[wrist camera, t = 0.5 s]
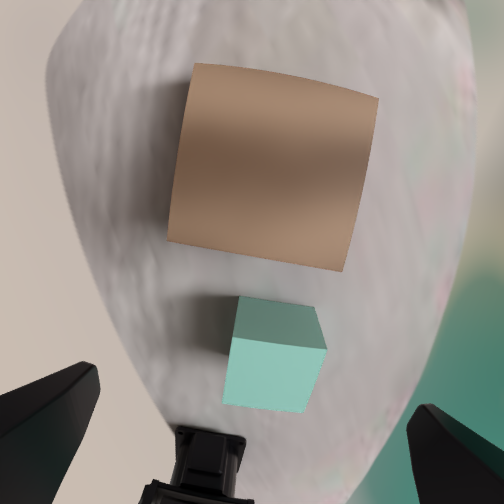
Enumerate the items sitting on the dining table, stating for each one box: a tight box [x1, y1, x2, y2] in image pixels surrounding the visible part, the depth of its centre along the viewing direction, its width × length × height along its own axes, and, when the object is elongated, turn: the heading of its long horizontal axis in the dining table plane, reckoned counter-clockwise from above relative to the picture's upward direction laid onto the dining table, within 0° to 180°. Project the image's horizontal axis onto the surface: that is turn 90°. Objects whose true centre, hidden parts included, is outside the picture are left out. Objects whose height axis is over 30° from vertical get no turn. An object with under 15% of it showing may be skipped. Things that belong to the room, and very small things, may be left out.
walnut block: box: [167, 63, 379, 272], centre depth 16 cm, size 9×9×4 cm
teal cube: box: [222, 296, 327, 413], centre depth 18 cm, size 5×5×5 cm
